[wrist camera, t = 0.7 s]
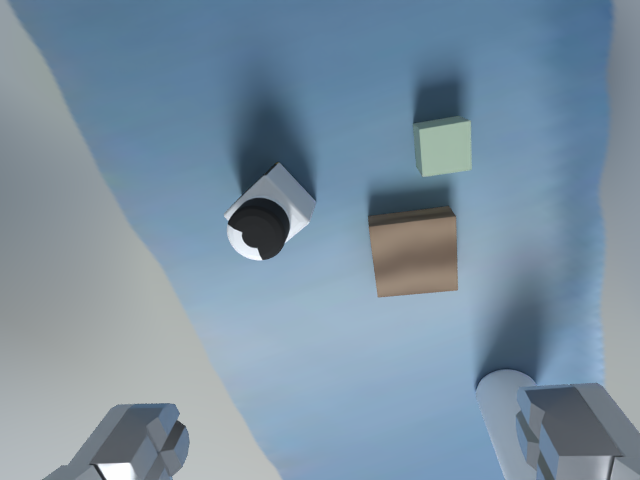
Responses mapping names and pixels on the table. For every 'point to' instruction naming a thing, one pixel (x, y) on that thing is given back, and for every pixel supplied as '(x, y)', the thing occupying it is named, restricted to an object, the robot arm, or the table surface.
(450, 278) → the walnut block
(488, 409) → the alcohol
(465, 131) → the sage green block
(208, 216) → the table surface
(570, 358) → the table surface
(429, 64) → the table surface
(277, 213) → the medicine bottle
